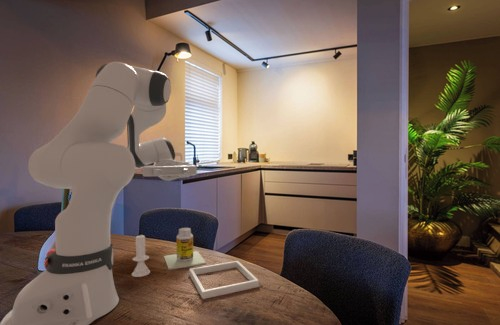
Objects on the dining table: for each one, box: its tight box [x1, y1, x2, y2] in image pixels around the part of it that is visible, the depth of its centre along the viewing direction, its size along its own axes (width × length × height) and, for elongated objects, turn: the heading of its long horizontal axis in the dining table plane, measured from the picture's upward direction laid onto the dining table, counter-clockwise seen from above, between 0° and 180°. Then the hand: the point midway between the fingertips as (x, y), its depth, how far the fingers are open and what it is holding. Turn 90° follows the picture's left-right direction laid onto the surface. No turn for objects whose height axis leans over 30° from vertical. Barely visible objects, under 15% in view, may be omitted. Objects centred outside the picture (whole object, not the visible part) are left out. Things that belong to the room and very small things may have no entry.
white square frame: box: [188, 260, 260, 300], centre depth 80 cm, size 16×16×2 cm
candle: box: [131, 234, 151, 278], centre depth 85 cm, size 5×5×12 cm
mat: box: [163, 250, 207, 271], centre depth 95 cm, size 12×12×1 cm
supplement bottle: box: [176, 227, 194, 261], centre depth 95 cm, size 6×6×10 cm
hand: (173, 171), depth 102 cm, fingers open, 8 cm apart
